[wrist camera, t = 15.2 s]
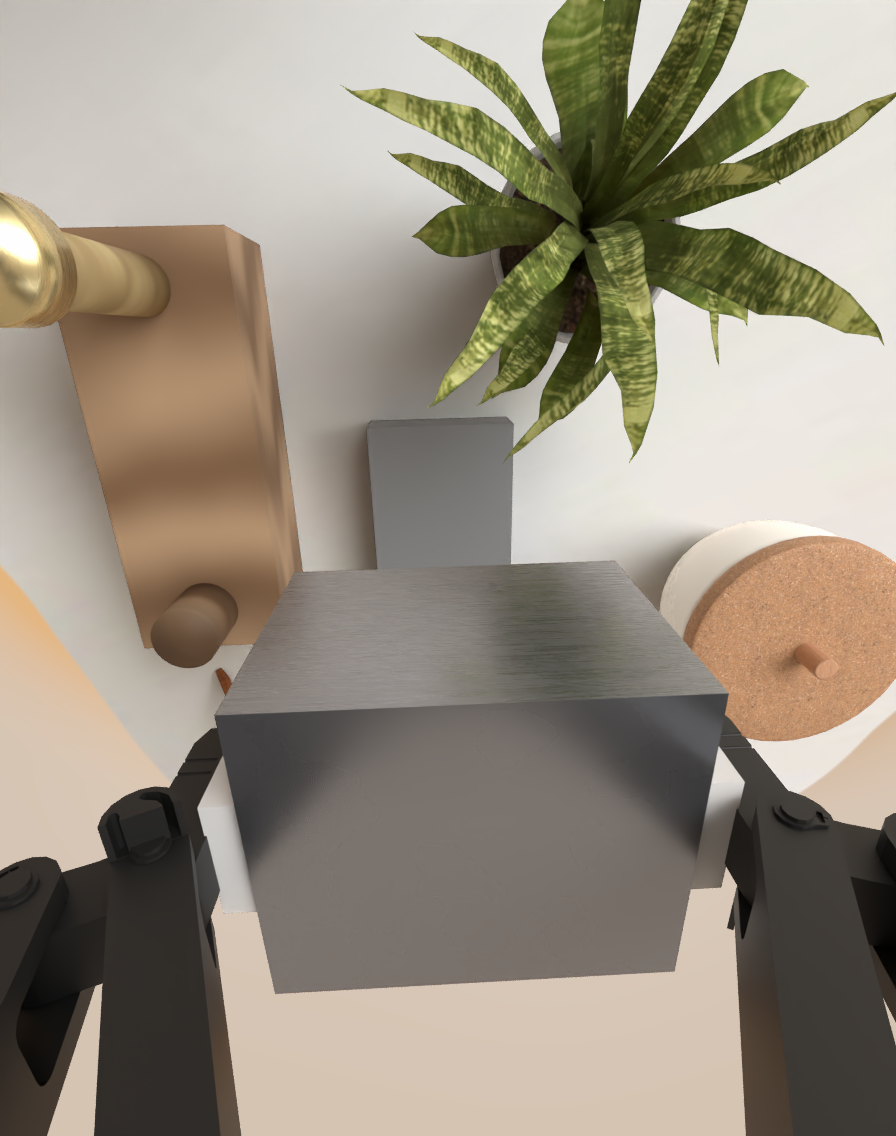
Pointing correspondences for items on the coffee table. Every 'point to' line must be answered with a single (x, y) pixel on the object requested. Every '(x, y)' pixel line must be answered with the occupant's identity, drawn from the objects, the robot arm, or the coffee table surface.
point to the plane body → (185, 428)
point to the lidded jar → (787, 624)
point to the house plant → (617, 204)
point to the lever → (33, 266)
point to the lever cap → (469, 776)
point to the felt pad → (441, 491)
